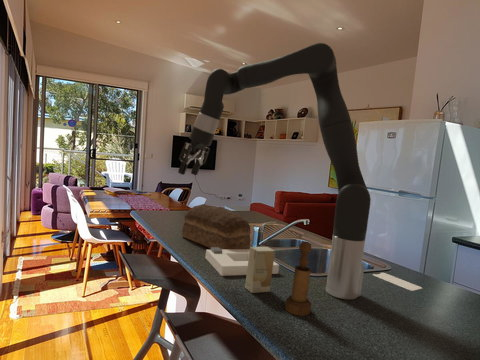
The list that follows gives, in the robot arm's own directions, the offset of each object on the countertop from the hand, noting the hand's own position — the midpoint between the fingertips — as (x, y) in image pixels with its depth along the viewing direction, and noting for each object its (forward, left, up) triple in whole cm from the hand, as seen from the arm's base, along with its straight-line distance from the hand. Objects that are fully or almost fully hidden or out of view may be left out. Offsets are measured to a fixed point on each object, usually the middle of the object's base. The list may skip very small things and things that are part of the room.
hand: (187, 174), depth 123 cm
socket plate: (-19, +8, -30) cm, 36 cm away
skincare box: (-16, +29, -30) cm, 45 cm away
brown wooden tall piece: (-21, +43, -30) cm, 57 cm away
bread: (-19, -19, -30) cm, 40 cm away
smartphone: (-70, +28, -30) cm, 81 cm away
